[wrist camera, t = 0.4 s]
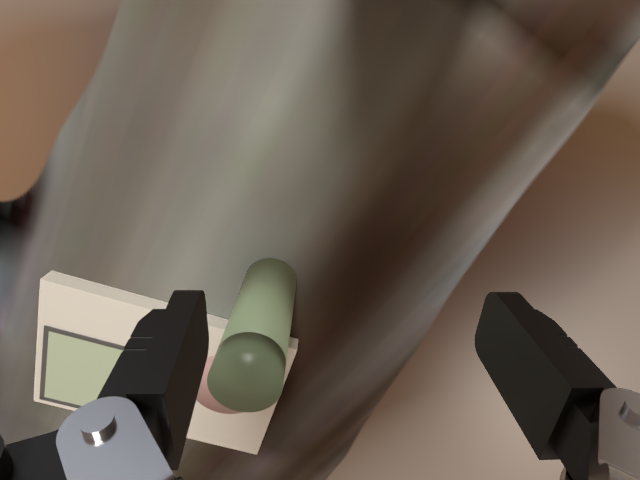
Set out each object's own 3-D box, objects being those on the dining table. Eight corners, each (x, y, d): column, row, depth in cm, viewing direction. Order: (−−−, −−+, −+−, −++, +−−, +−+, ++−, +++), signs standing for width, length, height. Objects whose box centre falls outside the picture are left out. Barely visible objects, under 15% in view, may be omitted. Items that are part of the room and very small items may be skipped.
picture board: (51, 270, 34) (39, 279, 32) (298, 339, 36) (297, 350, 35) (43, 389, 39) (32, 402, 38) (259, 441, 42) (256, 456, 40)
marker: (252, 251, 33) (216, 345, 22) (303, 267, 34) (292, 365, 23) (240, 295, 35) (200, 402, 24) (288, 309, 35) (271, 419, 24)
